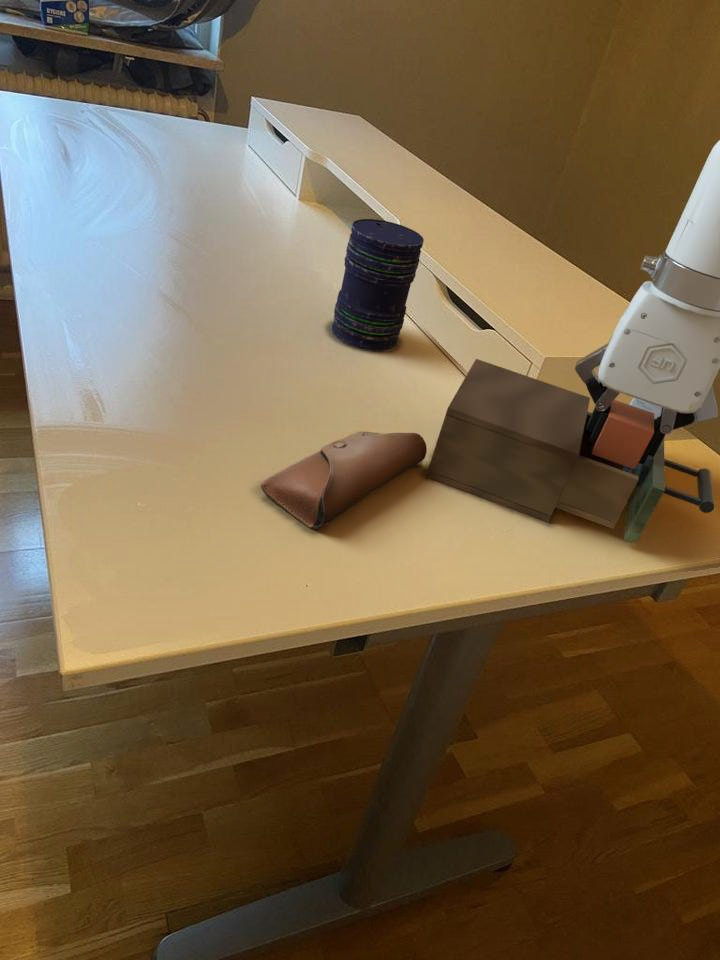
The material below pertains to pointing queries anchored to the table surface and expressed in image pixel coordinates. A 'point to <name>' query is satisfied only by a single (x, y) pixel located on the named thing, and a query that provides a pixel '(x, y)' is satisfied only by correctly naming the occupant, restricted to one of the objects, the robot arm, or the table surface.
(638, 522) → the drawer
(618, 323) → the robot arm
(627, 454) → the block
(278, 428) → the table surface
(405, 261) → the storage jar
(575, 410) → the cabinet
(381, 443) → the sunglasses case
